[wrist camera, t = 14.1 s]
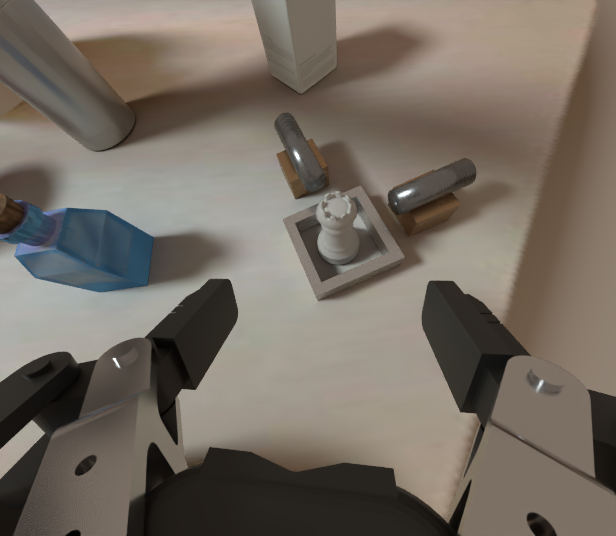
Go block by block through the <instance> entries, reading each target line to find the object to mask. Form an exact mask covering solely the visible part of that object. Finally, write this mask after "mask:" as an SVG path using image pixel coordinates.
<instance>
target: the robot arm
mask: <svg viewBox="0 0 616 536" xmlns="http://www.w3.org/2000/svg"><path fill="white" fill-rule="evenodd" d="M0 82H2V83H3V84H4V85H5V86H7V87H8V88H9V89H11V90H12V91H13V92H14V93H16V94H17V95H18V96H20V97H21V98H22V99H23V100H25V101H26V102H27V103H29V104H30V105H31V106H32V107H34V108H35V109H36V110H38V111H39V112H40V113H41V114H43V115H44V116H45V117H47V118H48V119H49V120H50V121H52V122H53V123H54V124H56V125H57V126H58V127H59V128H61V129H62V130H63V131H65V132H66V133H67V134H68V135H70V136H71V137H72V138H74V139H75V140H76V141H78V142H79V143H80V144H81V145H83V146H84V147H85V148H87V149H89V150H93V151H100V150H105V149H108V148H110V147H112V146H114V145H116V144H118V143H119V142H120V141H122V140H123V139H124V138H125V137H126V136H127V135H128V134H129V132H130V131H131V129H132V128H133V125H134V122H135V115H134V112H133V111H132V109H131V108H130V107H129V106H128V105H127V104H126V103H125V102H124V100H123V99H122V98H121V97H120V96H119V95H118V94H117V93H116V91H115V90H114V89H113V88H112V87H111V86H110V85H109V84H108V82H107V81H106V80H105V79H104V78H103V77H102V76H101V75H100V73H99V72H98V71H97V70H96V69H95V68H94V67H93V66H92V64H91V63H90V62H89V61H88V60H87V59H86V58H85V57H84V56H83V54H82V53H81V52H80V51H79V50H78V49H77V48H76V47H75V45H74V44H73V43H72V42H71V41H70V40H69V39H68V38H67V37H66V35H65V34H64V33H63V32H62V31H61V30H60V29H59V28H58V26H57V25H56V24H55V23H54V22H53V21H52V20H51V19H50V17H49V16H48V15H47V14H46V13H45V12H44V11H43V10H42V9H41V7H40V6H39V5H38V4H37V3H36V2H35V1H34V0H0ZM237 318H238V308H237V304H236V300H235V296H234V292H233V288H232V284H231V281H230V280H229V279H209V280H208V281H207V282H206V283H205V284H204V285H203V286H202V287H201V288H200V289H199V290H197V291H196V292H194V293H192V294H191V295H189V296H187V297H186V298H185V299H184V300H183V301H182V302H181V303H180V304H179V305H178V307H176V308H175V309H174V310H172V311H171V313H169V314H168V315H167V316H166V317H165V318H164V319H163V320H162V321H161V322H160V323H159V324H158V325H157V326H156V327H155V328H154V329H153V330H152V331H151V332H150V333H149V334H148V335H147V336H146V337H145V338H134V339H130V340H127V341H124V342H122V343H120V344H117V345H116V346H114V347H112V348H111V349H109V350H108V351H107V352H105V353H104V354H103V355H102V356H101V357H100V358H99V359H98V360H94V361H89V362H84V363H79V364H77V362H76V361H75V360H74V358H73V357H72V355H71V354H70V353H68V352H56V353H52V354H48V355H45V356H43V357H40V358H38V359H36V360H34V361H32V362H30V363H28V364H26V365H24V366H23V367H21V368H20V369H18V370H17V371H15V372H14V373H13V374H11V375H10V376H8V377H7V378H6V379H4V380H3V381H2V382H0V449H1V448H2V447H3V446H4V445H5V444H6V443H7V442H8V441H9V440H10V439H12V438H13V437H14V436H15V435H16V434H17V433H18V432H19V431H20V430H21V429H22V428H23V427H24V426H26V425H27V424H28V423H29V422H30V421H31V420H33V421H34V422H35V423H36V424H37V425H38V426H39V427H40V428H41V429H42V430H43V431H44V432H45V434H44V435H43V436H42V437H41V438H40V439H39V440H38V441H37V442H36V443H35V444H34V445H33V446H32V447H31V448H30V450H29V451H28V452H27V453H26V454H25V455H24V456H23V457H22V458H21V459H20V460H19V461H18V462H17V463H16V464H15V465H14V466H13V467H12V468H11V469H10V470H9V471H8V472H7V473H6V474H5V475H4V476H3V477H2V478H1V479H0V536H616V397H614V396H611V395H607V394H603V393H599V392H596V391H592V390H588V389H586V388H585V386H584V385H583V384H582V383H581V382H580V381H579V380H578V379H577V378H576V377H575V376H573V375H572V374H571V373H569V372H568V371H566V370H565V369H563V368H561V367H559V366H557V365H555V364H553V363H551V362H549V361H546V360H543V359H540V358H536V357H532V356H531V355H530V354H529V353H528V352H527V351H526V350H525V349H524V348H523V346H522V345H521V344H520V343H519V342H518V341H517V340H516V339H515V338H514V336H513V335H512V334H511V333H510V332H509V331H508V330H507V329H506V328H505V327H504V325H503V324H500V321H499V320H498V319H497V318H496V317H495V315H492V312H491V311H490V310H489V309H488V308H487V307H486V306H485V304H484V303H483V302H481V301H479V300H478V299H476V298H474V297H473V296H471V295H469V294H464V293H463V292H462V291H461V290H460V288H459V287H458V286H457V285H456V284H455V282H453V281H429V283H428V285H427V290H426V295H425V301H424V306H423V311H422V326H423V329H424V332H425V334H426V336H427V339H428V341H429V343H430V345H431V348H432V350H433V352H434V354H435V357H436V359H437V361H438V363H439V365H440V368H441V370H442V372H443V374H444V377H445V379H446V381H447V383H448V386H449V388H450V390H451V392H452V395H453V397H454V399H455V401H456V404H457V406H458V408H459V410H460V412H465V413H476V414H477V416H478V418H479V420H480V425H479V427H478V429H477V432H476V435H475V439H474V442H473V445H472V448H471V451H470V454H469V457H468V460H467V463H466V466H465V469H464V472H463V475H462V478H461V482H460V484H459V487H458V490H457V493H456V495H455V498H454V500H453V503H452V506H451V508H450V511H449V514H448V517H447V520H446V521H445V520H444V519H443V518H442V517H441V516H440V515H439V514H438V513H437V512H436V511H434V510H433V509H432V508H431V507H430V506H429V505H427V504H426V503H425V502H423V501H422V500H421V499H419V498H418V497H416V496H415V495H413V494H411V493H410V492H408V491H406V490H405V489H402V488H400V487H398V486H396V482H395V476H394V470H393V468H385V467H376V466H367V465H359V464H350V463H341V464H336V465H331V466H326V467H321V468H316V469H311V470H306V471H301V472H292V471H289V470H287V469H285V468H283V467H281V466H279V465H277V464H275V463H273V462H271V461H269V460H267V459H264V458H262V457H260V456H258V455H256V454H254V453H252V452H246V451H238V450H229V449H220V448H212V447H210V448H209V450H208V452H207V455H206V457H205V459H204V462H203V463H201V464H198V465H195V466H192V467H189V468H188V466H187V462H186V459H185V455H184V448H183V436H182V424H181V413H180V402H179V398H178V396H177V395H178V394H179V392H180V391H181V389H190V390H196V388H197V387H198V385H199V383H200V382H201V380H202V378H203V377H204V375H205V373H206V372H207V370H208V368H209V367H210V365H211V363H212V362H213V360H214V358H215V357H216V355H217V353H218V352H219V350H220V348H221V347H222V345H223V343H224V342H225V340H226V338H227V337H228V335H229V333H230V332H231V330H232V328H233V327H234V325H235V323H236V321H237Z"/></svg>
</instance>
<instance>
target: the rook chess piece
mask: <svg viewBox="0 0 616 536" xmlns="http://www.w3.org/2000/svg"><path fill="white" fill-rule="evenodd" d="M356 215H357V207H356V204H355V202H354V201H353V200H352V199H351V197H350V196H349V195H348V194H347V195H346V196H345V195H342V191H336V194H334V195H331V194H330V192H329V193H327V194H326V195H324V199H323V200H321V201H320V203H319V205H318V206H317V210H316V216H317V220H318V221H319V222H320V224H321V227H322V231H321V232H320V233H319V236H318V241H317V244H318V245H317V247H318V251H319V254H320V255H321V257H322V258H323V260H325V261H327V262H329V263H330V264H336V265H341V264H345V263H348V262H350V261H351V260H353V259H354V258H355V257H356V255H357V254H358V252H359V247H360V243H359V242H360V240H359V236H358V233H357V231H356V230H355V229H354V228H353V227H352V226H353V222H354V220H355V218H356Z"/></svg>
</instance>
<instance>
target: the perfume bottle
mask: <svg viewBox="0 0 616 536" xmlns="http://www.w3.org/2000/svg"><path fill="white" fill-rule="evenodd" d="M153 239H154V237H152V236H150V235H149V234H147V233H145V232H143V231H142V230H140V229H138V228H137V227H135V226H133V225H131V224H130V223H128V222H126V221H124V220H123V219H121V218H119V217H117V216H116V215H114V214H112V213H111V212H109V211H107V210H94V209H78V208H63V209H58V210H53V211H47V212H42V211H41V209H40V208H38V207H36V206H34V205H31V204H29V203H27V202H25V201H22V200H15V201H14V200H12V199H10V198H9V197H7V196H6V195H4V194H2V193H0V240H1V241H4V242H8V243H11V244H18V246H17V249H16V252H15V255H14V256H15V257H16V258H17V259H18V260H19V261H20V263H21V264H22V265H23V266H24V267H25V268H26V269H27V270H28V271H29V272H30V273H31V274H32V275H33V276H34V277H35V278H37V279H42V280H46V281H51V282H55V283H60V284H64V285H69V286H73V287H78V288H82V289H87V290H91V291H96V292H105V291H112V290H119V289H126V288H133V287H140V286H147V285H148V278H149V270H150V262H151V254H152V246H153Z"/></svg>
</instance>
